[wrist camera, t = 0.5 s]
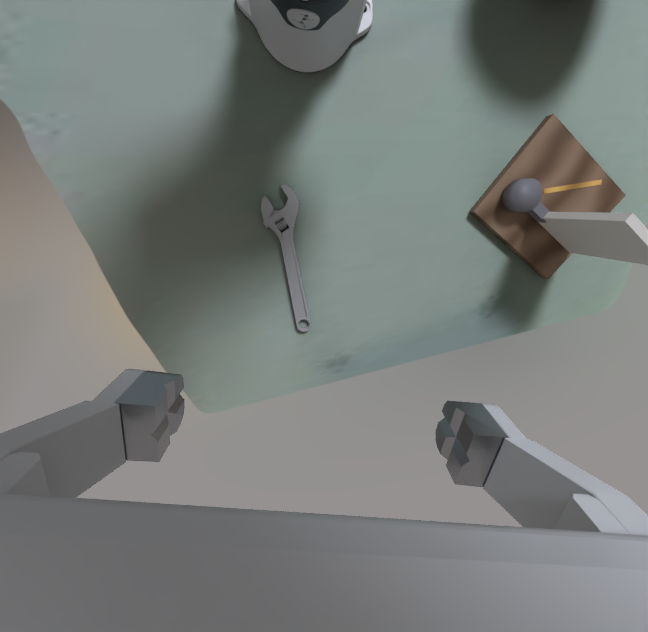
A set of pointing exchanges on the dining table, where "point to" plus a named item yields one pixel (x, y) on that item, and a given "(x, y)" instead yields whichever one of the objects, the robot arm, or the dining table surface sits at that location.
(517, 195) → the white upright panel
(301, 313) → the adjustable wrench
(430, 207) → the dining table surface
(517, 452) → the robot arm
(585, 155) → the dial board
